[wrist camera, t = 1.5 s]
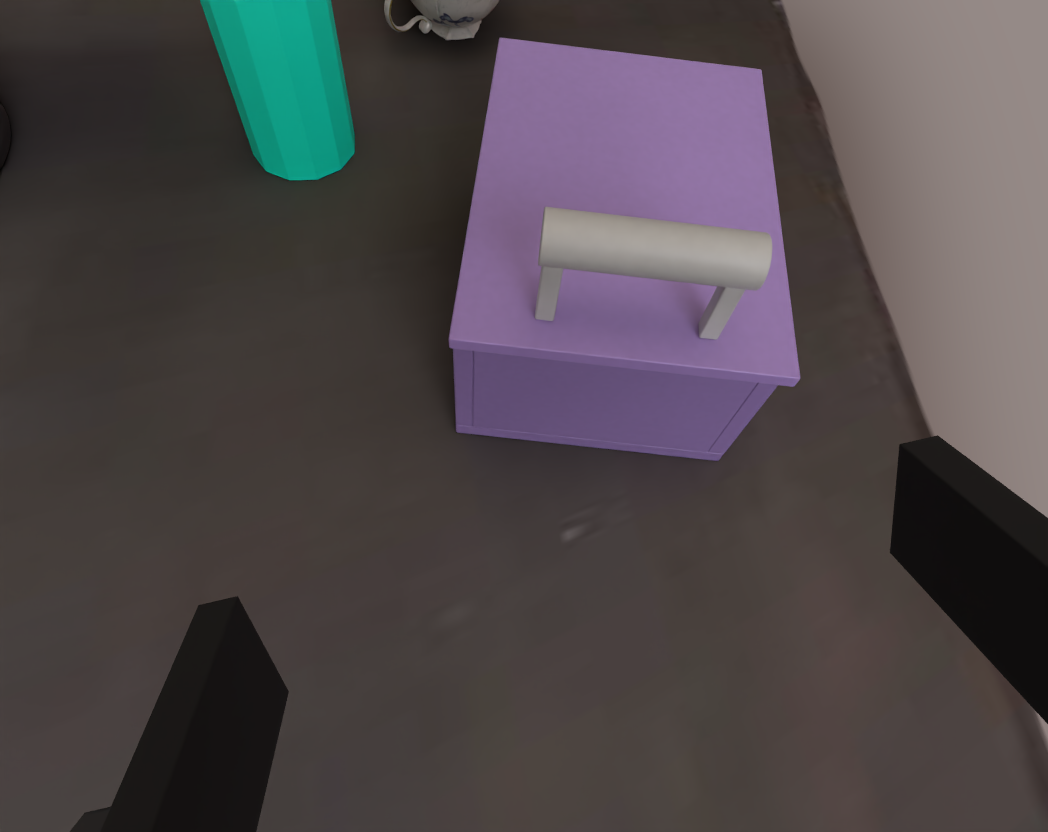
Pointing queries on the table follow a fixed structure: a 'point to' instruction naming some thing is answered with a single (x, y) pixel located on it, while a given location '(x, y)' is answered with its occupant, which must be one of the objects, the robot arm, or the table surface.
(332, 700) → the table surface
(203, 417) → the table surface
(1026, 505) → the robot arm
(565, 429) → the box
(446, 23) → the chinaware
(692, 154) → the lid
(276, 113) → the candle
